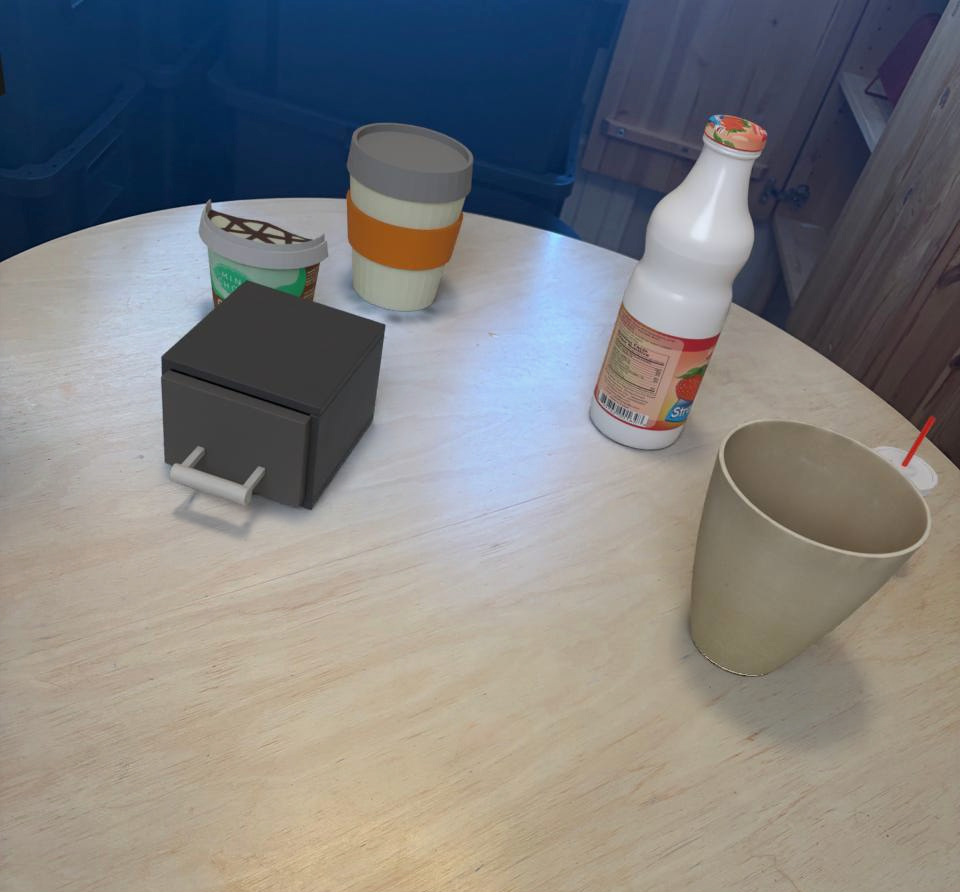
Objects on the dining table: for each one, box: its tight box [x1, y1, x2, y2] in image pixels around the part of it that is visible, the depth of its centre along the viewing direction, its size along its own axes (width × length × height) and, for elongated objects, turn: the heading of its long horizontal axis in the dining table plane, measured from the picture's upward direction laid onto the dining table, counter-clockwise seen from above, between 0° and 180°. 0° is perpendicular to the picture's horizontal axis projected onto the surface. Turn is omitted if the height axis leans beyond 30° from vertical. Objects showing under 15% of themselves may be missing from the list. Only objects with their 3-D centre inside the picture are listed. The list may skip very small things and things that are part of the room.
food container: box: [198, 199, 329, 309], centre depth 92 cm, size 12×6×10 cm, turn 76°
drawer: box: [160, 370, 311, 508], centre depth 78 cm, size 18×11×8 cm, turn 165°
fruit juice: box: [589, 114, 768, 451], centre depth 87 cm, size 9×9×28 cm
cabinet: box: [160, 280, 387, 511], centre depth 81 cm, size 15×13×10 cm
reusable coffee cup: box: [346, 122, 474, 312], centre depth 102 cm, size 13×13×15 cm
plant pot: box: [689, 417, 933, 675], centre depth 72 cm, size 15×15×16 cm
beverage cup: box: [872, 415, 938, 498], centre depth 85 cm, size 6×6×14 cm
